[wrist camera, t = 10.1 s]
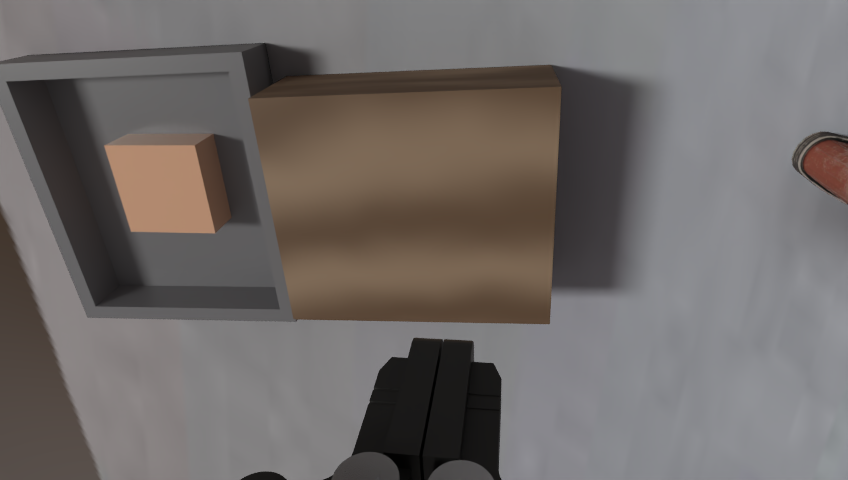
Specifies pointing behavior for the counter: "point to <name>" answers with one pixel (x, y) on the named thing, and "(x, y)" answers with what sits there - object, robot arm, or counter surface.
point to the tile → (170, 182)
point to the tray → (98, 194)
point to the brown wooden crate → (414, 192)
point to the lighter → (824, 163)
